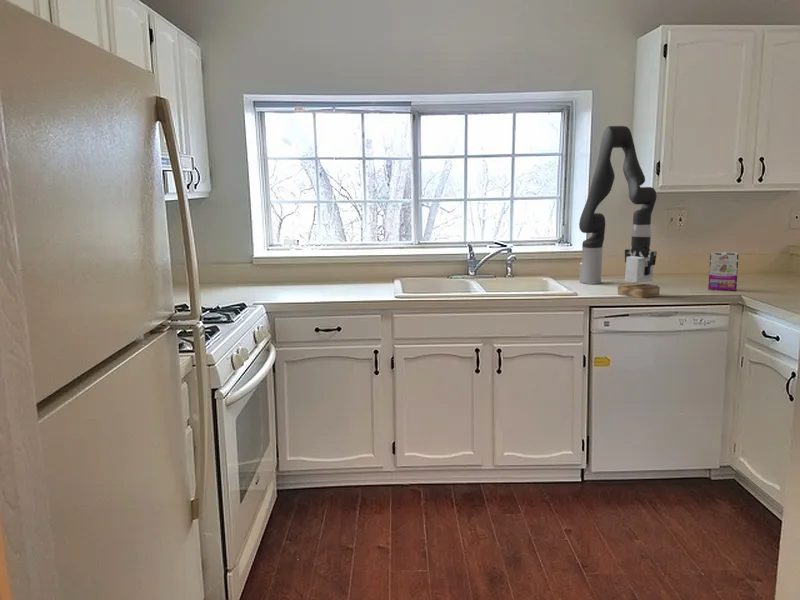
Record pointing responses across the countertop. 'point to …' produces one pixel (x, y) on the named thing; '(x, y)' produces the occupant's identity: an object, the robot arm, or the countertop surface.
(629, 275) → the skincare box
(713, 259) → the candy bar box
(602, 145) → the robot arm
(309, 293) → the countertop surface
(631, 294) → the oak plinth
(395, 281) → the countertop surface
